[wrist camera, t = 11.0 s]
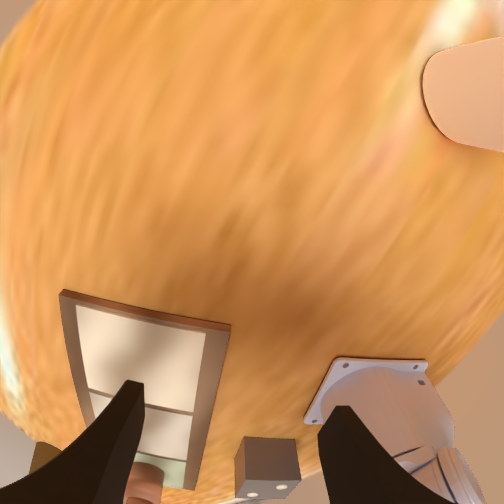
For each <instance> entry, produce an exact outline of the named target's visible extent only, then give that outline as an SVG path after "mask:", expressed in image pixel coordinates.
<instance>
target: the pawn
mask: <svg viewBox="0 0 504 504" xmlns="http://www.w3.org/2000/svg"><path fill="white" fill-rule="evenodd" d="M164 475H165V473H164V471H163V470H162V469H160V468H158V467H157V466H154V465H152V464H148V463H144V462H133V465H132V468H131V471H130V475H129V478H128V481H127V485H126V489H125V493H124V500H125V501H126V504H160V503H161V496H162V488H163V481H164Z"/></svg>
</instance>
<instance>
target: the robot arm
mask: <svg viewBox="0 0 504 504" xmlns="http://www.w3.org/2000/svg"><path fill="white" fill-rule="evenodd" d="M345 363H347V364H345ZM344 364H345V365H344ZM427 367H428V362H427V361H426V360H380V359H358V358H342V357H341V358H337V359H335V360H334V361H333V363H332V365H331V367H330V369H329V371H328V373H327V375H326V377H325V379H324V381H323V383H322V385H321V387H320V389H319V391H318V392H317V394H316V396H315V398H314V400H313V402H312V404H311V406H310V407H309V409H308V411H307V413H306V415H305V416H304V418H303V421H304V423H305V424H324V425H323V427H322V428H321V430H320V431H319V433H318V448H319V457H320V461H321V466H322V470H323V474H324V479H325V483H326V487H327V491H328V495H329V500H330V504H486V502H485V499H484V496H483V494H482V491H481V488H480V486H479V484H478V482H477V480H476V478H475V476H474V474H473V472H472V470H471V469H470V467H469V465H468V464H467V462H466V460H465V458H464V457H463V456H462V454H461V453H460V451H459V450H458V449H457V448H452V445H453V443H454V436H455V429H454V422H453V419H452V416H451V414H450V412H449V411H448V409H447V407H446V406H445V404H444V403H443V401H442V399H441V398H440V396H439V394H438V393H437V391H436V389H435V388H434V386H433V385H432V383H431V382H430V380H429V378H428V377H427V375H426V374H425V370H426V369H427ZM144 419H145V398H144V383H141V382H137V381H132V380H126V381H125V382H124V383H123V385H122V386H121V388H120V389H119V391H118V392H117V393H116V395H115V396H114V397H113V399H112V400H111V401H110V402H109V404H108V405H107V406H106V407H105V409H104V410H103V411H102V412H101V413H100V414H99V416H98V417H97V418H96V419H95V420H94V421H93V422H92V424H91V425H90V426H89V427H88V428H87V429H86V430H85V431H84V432H83V433H82V434H81V435H80V436H79V437H78V438H77V439H76V440H75V441H74V442H72V443H71V444H70V445H69V446H68V447H67V448H66V449H64V450H63V451H62V452H61V453H60V454H58V455H57V456H56V457H54V458H53V459H52V460H50V461H49V462H48V463H46V464H45V465H43V466H42V467H40V468H39V469H37V470H35V471H34V472H32V473H30V474H29V475H27V476H25V477H24V478H22V479H20V480H18V481H16V482H14V483H12V484H9V485H7V486H5V487H3V488H0V504H123V499H124V493H125V489H126V485H127V481H128V478H129V475H130V471H131V468H132V465H133V462H134V459H135V455H136V452H137V449H138V446H139V443H140V439H141V435H142V430H143V424H144Z"/></svg>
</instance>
